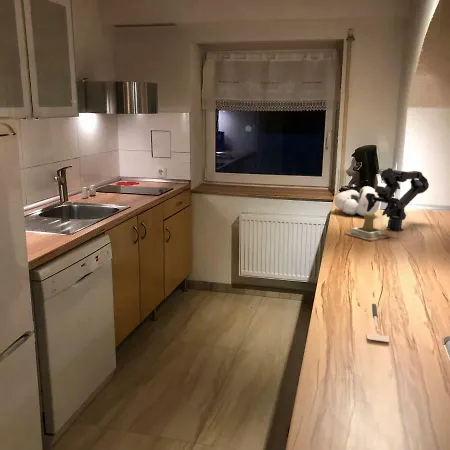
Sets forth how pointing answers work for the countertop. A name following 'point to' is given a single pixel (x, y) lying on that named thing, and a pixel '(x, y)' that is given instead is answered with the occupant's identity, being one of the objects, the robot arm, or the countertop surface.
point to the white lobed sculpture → (356, 201)
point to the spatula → (373, 336)
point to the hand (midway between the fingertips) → (374, 213)
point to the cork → (368, 222)
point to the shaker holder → (367, 234)
